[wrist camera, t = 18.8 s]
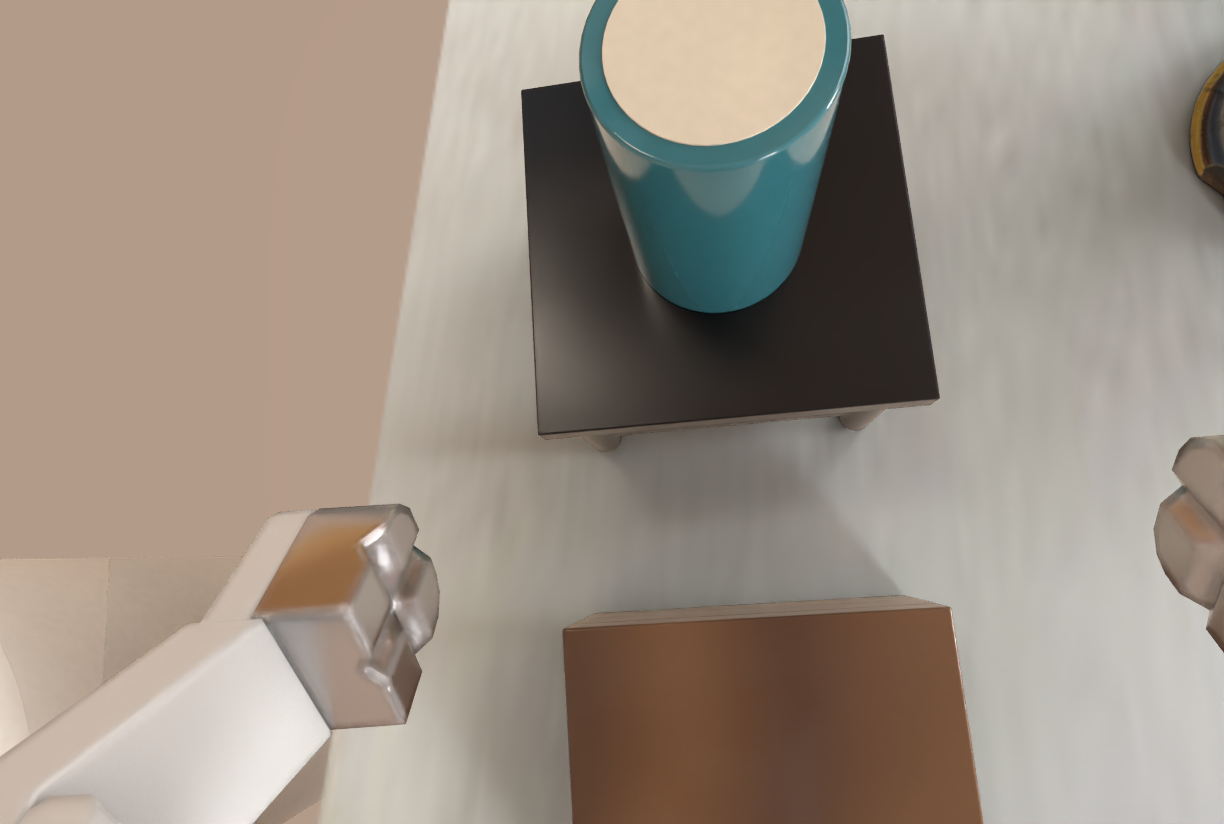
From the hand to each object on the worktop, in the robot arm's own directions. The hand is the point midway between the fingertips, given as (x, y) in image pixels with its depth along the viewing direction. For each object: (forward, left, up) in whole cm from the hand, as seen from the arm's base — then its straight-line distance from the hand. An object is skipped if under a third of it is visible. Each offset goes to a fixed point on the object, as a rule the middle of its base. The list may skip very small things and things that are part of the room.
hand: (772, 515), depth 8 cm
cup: (0, +10, -14) cm, 17 cm away
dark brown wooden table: (0, +10, -22) cm, 24 cm away
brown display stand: (0, -8, -22) cm, 24 cm away
